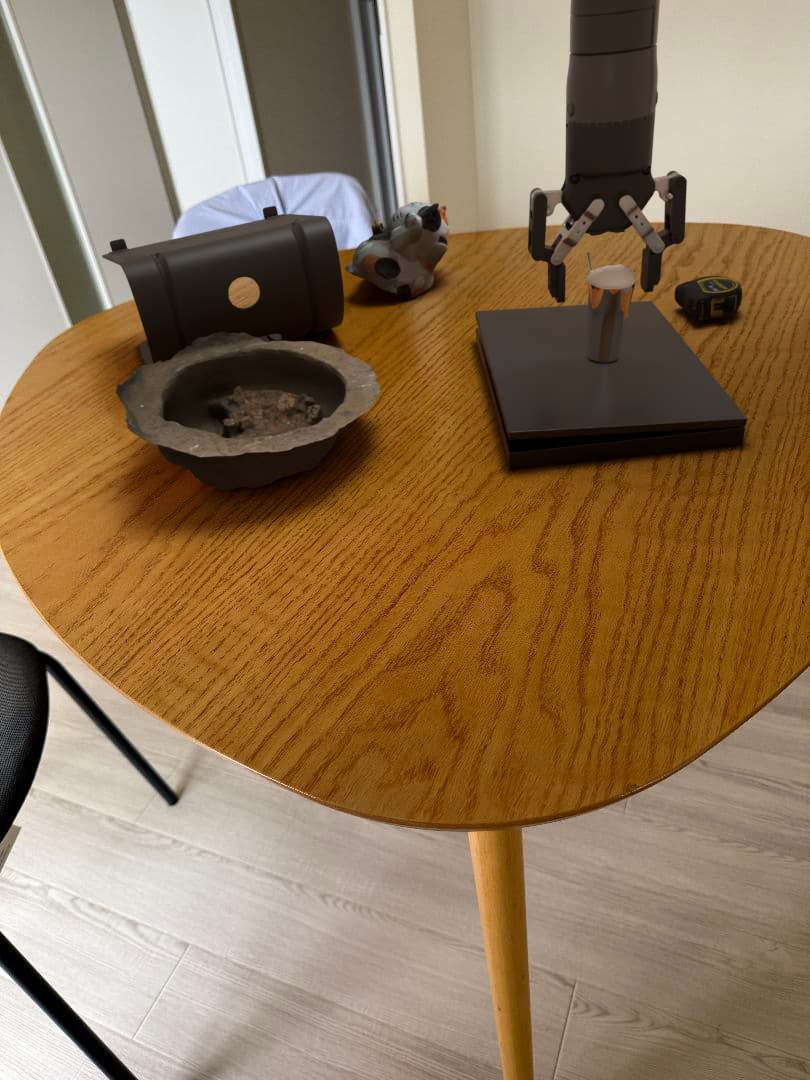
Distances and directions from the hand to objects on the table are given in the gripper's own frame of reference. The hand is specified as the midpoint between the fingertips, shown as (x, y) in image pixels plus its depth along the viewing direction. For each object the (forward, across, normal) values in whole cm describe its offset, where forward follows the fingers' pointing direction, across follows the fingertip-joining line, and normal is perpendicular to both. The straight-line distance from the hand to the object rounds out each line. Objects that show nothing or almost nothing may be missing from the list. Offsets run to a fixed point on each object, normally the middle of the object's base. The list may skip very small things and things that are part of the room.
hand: (602, 295), depth 77 cm
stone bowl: (+10, +35, +6) cm, 37 cm away
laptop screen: (+7, +1, 0) cm, 7 cm away
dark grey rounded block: (+10, +42, -23) cm, 49 cm away
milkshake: (+7, 0, 0) cm, 7 cm away
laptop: (+10, +1, 0) cm, 10 cm away
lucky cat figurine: (+10, +20, -39) cm, 45 cm away
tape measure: (+10, -16, -15) cm, 24 cm away
